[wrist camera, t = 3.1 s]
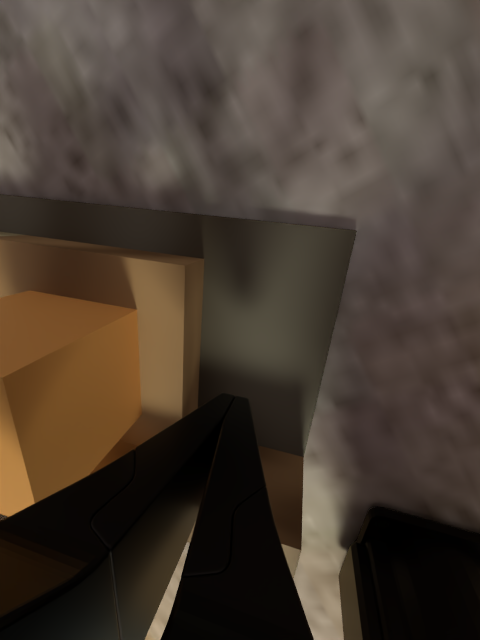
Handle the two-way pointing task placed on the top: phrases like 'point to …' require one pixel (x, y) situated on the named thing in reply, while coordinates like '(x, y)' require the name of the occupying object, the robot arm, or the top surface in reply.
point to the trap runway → (199, 315)
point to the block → (62, 391)
